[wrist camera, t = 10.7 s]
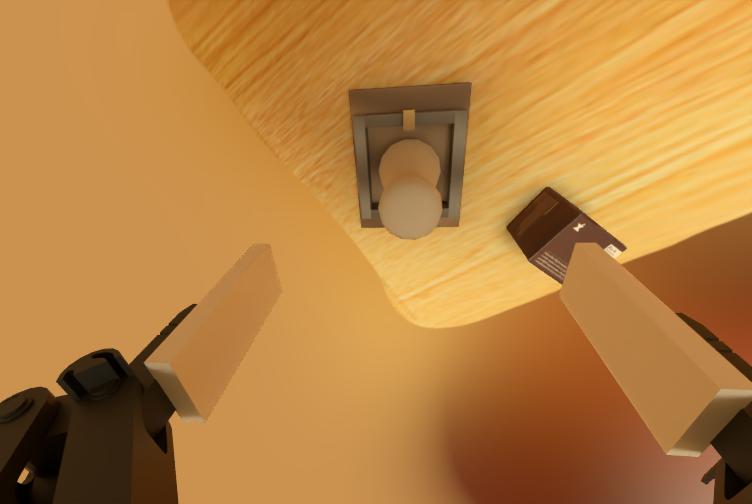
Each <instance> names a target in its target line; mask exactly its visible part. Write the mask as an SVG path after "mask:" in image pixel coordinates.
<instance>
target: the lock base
mask: <svg viewBox="0 0 752 504" xmlns="http://www.w3.org/2000/svg"><path fill="white" fill-rule="evenodd" d="M471 84H472V83H457V84H441V85H425V86H409V87H394V88H378V89H362V90H350V91H349V96H350V107H351V118H352V129H353V140H354V151H355V162H356V173H357V184H358V195H359V206H360V217H361V228H383V227H384V225H383V224H382V221H381V217H380V213H379V209H378V206H379V203H380V199H381V195H382V192H383V191H384V188H383V185H382V183H381V179H380V174H379V167H380V163H381V159H382V156H383V155H384V154H385V152H386V151H387V150H388V149H389V147H390V146H391V145H393V144H395V143H397V142H399V141H401V140H403V139H419V140H420V141H422V142H424V143H426V144H428V145H430V146H431V147H432V148H433V150H434V151H435V153H436V154H437V156H438V157H439V161H440V170H441V173H440V176H439V179H438V182H437V185H436V189H437V190H438V192H439V193H440V195H441V201H442V214H441V217H440V220H439V223H438V225H437V227H459V218H460V207H461V196H462V185H463V174H464V162H465V151H466V140H467V129H468V117H469V106H470V95H471Z"/></svg>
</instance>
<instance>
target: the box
mask: <svg viewBox="0 0 752 504" xmlns="http://www.w3.org/2000/svg"><path fill="white" fill-rule="evenodd" d="M507 229H508V231H509V232H510V234H511V235H512V237H513V238H514V240H515V241H516V243H517V244H518V246H519V247H520V248H521V250H522V251H523V253H524V254H525V256H526V257H527V259H528V261H529V262H530V263H532V264H533V265H535V266H536V267H537V268H539V269H540V270H542V271H543V272H545V273H546V274H548V275H549V276H550V277H552V278H553V279H555V280H556V281H558V282H559V283H561V284H563V281H564V278H565V275H566V272H567V269H568V266H569V262H570V259H571V256H572V253H573V250H574V247H575V244H576V243H597V244H598V245H599V246H600V247H601V248H602V249H604V250H605V251H606V252H607V253H608V254H609V255H610V256H611V257H613V258H616V257H617V256H618V255H620V254H621V253H622V252H623V251H624V250H626V249H627V247H626V246H625V245H624V244H623V243H621V242H620V241H619V240H617V239H616V238H615V237H614V236H612V235H611V234H610V233H609V232H607V231H606V230H605V229H603V228H602V227H601V226H600V225H598V224H597V223H596V222H595V221H593V220H592V219H591V218H590V217H588V216H587V215H586V214H585V213H583V212H582V211H581V210H579V209H578V208H577V207H576V206H574V205H573V204H572V203H570V202H569V201H568V200H566V199H565V198H564V197H562V196H561V195H560V194H558V193H557V192H555V191H554V190H553V189H551V188H550V187H547V188H546V189H545V190H544V191H543V192H542V193H541V194H540V195H539V196H538V197H537V198H536V199H535V200H534V201H533V202H532V203H531V204H530V205H529V206H528V207H527V208H526V209H525V210H524V211H523V212H522V213H521V214H520V215H519V216H518V217H517V218H516V219H515V220H514V221H513V222H512V223H511V224H510V225H509V226H508V227H507Z"/></svg>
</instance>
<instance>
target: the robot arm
mask: <svg viewBox="0 0 752 504" xmlns="http://www.w3.org/2000/svg"><path fill="white" fill-rule="evenodd" d="M281 293H282V288H281V285H280V281H279V277H278V273H277V270H276V266H275V262H274V259H273V255H272V251H271V247H270V244H253V245H252V246H251V247H250V248H249V249H248V250H247V252H246V253H245V254H244V255H243V256H242V257H241V258H240V259H239V260H238V261H237V262H236V263H235V265H234V266H233V267H232V268H231V269H230V270H229V271H228V272H227V273H226V274H225V275H224V276H223V277H222V279H221V280H220V281H219V282H218V283H217V284H216V285H215V286H214V287H213V288H212V289H211V290H210V292H209V293H208V294H207V295H206V296H205V297H204V298H203V299H202V300H201V301H200V302H199V303H198V304H192V305H191V306H189V307H188V308H186V309H184V310H183V311H182V312H180V313H179V314H178V315H177V316H176V317H175V318H174V319H173V320H172V321H171V322H170V323H169V325H168V326H166V327H165V328H164V329H163V330H162V331H161V332H160V335H157V336H156V337H155V338H154V340H153V341H151V342H150V344H149V345H148V346H147V347H146V348H145V349H144V350H143V351H142V352H141V353H140V354H139V355H138V356H137V357H136V358H135V359H134V360H133V361H132V362H131V363H130V364H129V365H128V363H127V362H126V361H125V359H124V358H123V356H122V355H121V353H120V352H119V351H118V350H115V349H113V348H112V349H102V350H98V351H95V352H92V353H90V354H88V355H86V356H83V357H81V358H80V359H78V360H77V361H75V362H74V363H72V364H71V365H69V366H68V367H67V368H66V369H65V370H64V371H63V372H62V373H61V374H60V376H59V377H58V379H57V381H56V382H57V383H58V384H59V385H60V386H61V387H62V389H64V391H65V392H66V393H67V394H68V395H63V396H59V397H55V396H54V395H53V394H52V393H51V392H50V391H49V390H48V389H47V388H44V387H36V388H30V389H27V390H25V391H22V392H19V393H17V394H15V395H13V396H11V397H9V398H7V399H5V400H4V401H2V402H1V403H0V504H178V494H177V483H176V471H175V460H174V449H173V437H172V428H171V425H170V423H169V421H168V420H169V419H170V417H171V416H172V414H173V413H174V412H175V410H176V412H177V413H178V415H179V416H180V418H181V419H182V421H185V422H200V423H205V422H206V421H207V419H208V417H209V416H210V414H211V412H212V411H213V409H214V407H215V406H216V404H217V402H218V400H219V399H220V397H221V395H222V393H223V392H224V390H225V389H226V387H227V385H228V383H229V382H230V380H231V378H232V377H233V375H234V373H235V371H236V370H237V368H238V366H239V365H240V363H241V361H242V360H243V358H244V356H245V354H246V352H247V351H248V349H249V348H250V346H251V344H252V343H253V341H254V339H255V337H256V335H257V334H258V332H259V331H260V329H261V327H262V326H263V324H264V322H265V320H266V319H267V317H268V315H269V314H270V312H271V310H272V308H273V307H274V305H275V303H276V302H277V300H278V298H279V297H280V295H281ZM559 297H560V298H561V300H562V301H563V303H564V304H565V306H566V307H567V309H568V310H569V312H570V313H571V315H572V316H573V318H574V319H575V320H576V322H577V323H578V325H579V326H580V328H581V329H582V331H583V332H584V334H585V335H586V337H587V338H588V340H589V341H590V343H591V344H592V346H593V347H594V348H595V350H596V351H597V353H598V354H599V356H600V357H601V359H602V360H603V362H604V363H605V365H606V366H607V368H608V369H609V371H610V372H611V374H612V375H613V377H614V378H615V380H616V381H617V382H618V384H619V385H620V387H621V388H622V390H623V391H624V393H625V394H626V396H627V397H628V399H629V400H630V402H631V403H632V404H633V406H634V408H635V409H636V411H637V412H638V413H639V415H640V416H641V418H642V419H643V421H644V422H645V424H646V425H647V427H648V428H649V430H650V431H651V433H652V434H653V436H654V437H655V438H656V440H657V441H658V443H659V444H660V446H661V447H662V449H663V450H664V452H665V453H666V455H680V456H695V457H698V456H700V455H701V454H702V453H703V451H704V450H705V449H706V448H707V447H708V446H709V445H710V444H712V446H713V447H714V448H715V449H716V450H717V452H718V453H719V454H720V455H721V457H722V458H721V459H720V460H719V461H718V462H717V463H716V464H715V465H714V466H713V467H712V468H711V469H710V470H709V471H708V472H707V473H706V474H705V475H704V476H703V478H702V480H701V481H702V482H703V483H705V484H708V483H709V482H710V481H711V480H712V479H715V486H714V502H713V504H752V367H751V366H750V365H749V364H748V363H747V362H746V361H744V360H743V359H742V358H741V357H740V356H738V355H737V354H736V353H733V352H732V350H731V349H730V348H729V347H728V346H727V345H725V344H724V343H723V342H722V341H721V342H720V341H719V339H718V338H717V337H716V336H715V335H714V334H713V333H711V332H710V331H709V330H708V329H707V328H706V327H704V326H703V325H702V324H700V323H698V322H696V321H695V320H693V319H691V318H689V317H687V316H686V315H684V314H682V313H674V312H673V311H672V310H670V309H669V308H668V307H667V306H666V305H665V304H664V303H663V302H661V301H660V300H659V299H658V298H657V297H656V296H655V295H654V294H653V293H652V292H650V291H649V290H648V289H647V288H646V287H645V286H644V285H643V284H642V283H640V282H639V281H638V280H637V279H636V278H635V277H634V276H632V275H631V274H630V273H629V272H628V271H627V270H626V269H625V268H624V267H623V266H621V265H620V264H619V263H618V262H617V261H616V260H615V259H614V258H613V257H611V256H610V255H609V254H608V253H607V252H606V251H605V250H604V249H602V248H601V247H600V246H599V245H598V244H597V243H576V244H575V247H574V250H573V253H572V256H571V259H570V262H569V266H568V269H567V272H566V275H565V278H564V281H563V284H562V287H561V291H560V294H559ZM24 468H25V469H26V470H28V471H29V474H28V475H27V477H26V479H25V480H24V481H23V483H22V484H20V483H18V482H17V481H18V478H19V476H20V475H21V473H22V471H23V470H24Z"/></svg>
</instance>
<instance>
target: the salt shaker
mask: <svg viewBox="0 0 752 504" xmlns="http://www.w3.org/2000/svg"><path fill="white" fill-rule="evenodd" d="M440 173H441V170H440V161H439V157H438V156H437V154H436V153H435V151H434V150H433V148H432V147H431V146H430V145H428V144H426V143H424V142H422V141H420V140H419V139H403V140H401V141H399V142H397V143H395V144H393V145H391V146H390V147H389V149H388V150H387V151H386V152H385V154H384V155H383V156H382V159H381V163H380V167H379V174H380V179H381V183H382V185H383V188H384V191H383V192H382V195H381V199H380V203H379V206H378V209H379V213H380V217H381V221H382V224H383V225H384V227H385V228H386V229H387V230H388V231H389V233H390V234H392V235H395V236H397V237H399V238H401V239H413V240H416V239H418V238H421V237H423V236H426V235H428V234H429V233H430V232H431V231H432V230H433V229H434V228H436V227H437V225H438V223H439V220H440V217H441V214H442V201H441V195H440V193H439V192H438V190H437V189H436V185H437V182H438V179H439V176H440Z"/></svg>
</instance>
